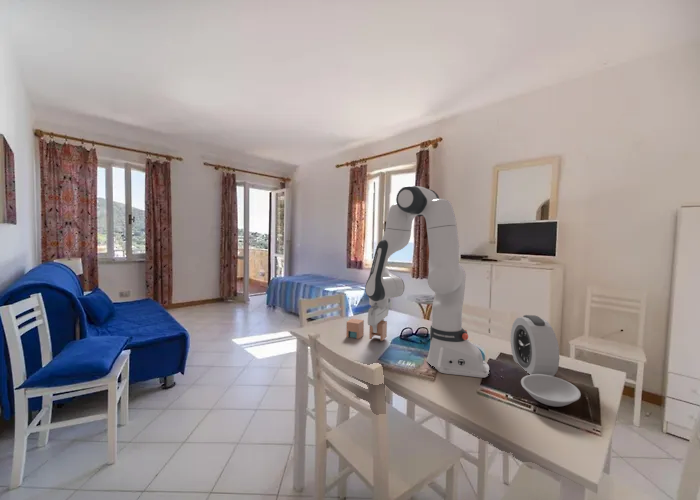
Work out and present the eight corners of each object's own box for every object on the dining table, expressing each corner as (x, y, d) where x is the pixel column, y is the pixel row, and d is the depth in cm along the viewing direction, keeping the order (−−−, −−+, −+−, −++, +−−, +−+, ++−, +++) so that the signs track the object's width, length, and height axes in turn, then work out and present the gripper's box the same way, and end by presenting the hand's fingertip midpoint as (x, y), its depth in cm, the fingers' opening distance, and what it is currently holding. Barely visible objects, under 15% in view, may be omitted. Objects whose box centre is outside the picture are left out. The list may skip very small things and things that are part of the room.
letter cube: (360, 335, 144) (360, 327, 143) (357, 338, 140) (357, 329, 140) (352, 334, 145) (353, 326, 145) (349, 337, 141) (349, 328, 141)
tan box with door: (363, 335, 144) (363, 320, 144) (358, 339, 138) (358, 323, 138) (351, 333, 147) (351, 318, 146) (346, 337, 141) (346, 321, 141)
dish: (573, 427, 75) (574, 409, 74) (512, 404, 85) (513, 387, 85) (584, 401, 87) (585, 385, 87) (529, 383, 97) (530, 369, 97)
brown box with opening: (386, 336, 139) (386, 321, 139) (382, 340, 133) (382, 324, 133) (374, 334, 142) (374, 319, 141) (369, 338, 136) (369, 322, 136)
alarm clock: (509, 356, 120) (511, 308, 119) (529, 357, 119) (530, 309, 118) (535, 381, 99) (537, 324, 98) (558, 383, 98) (561, 325, 97)
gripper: (377, 306, 126) (377, 337, 127) (391, 297, 145) (390, 325, 145) (364, 304, 129) (363, 335, 129) (379, 296, 147) (378, 323, 148)
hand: (378, 330), depth 137 cm, fingers closed on brown box with opening, 6 cm apart
